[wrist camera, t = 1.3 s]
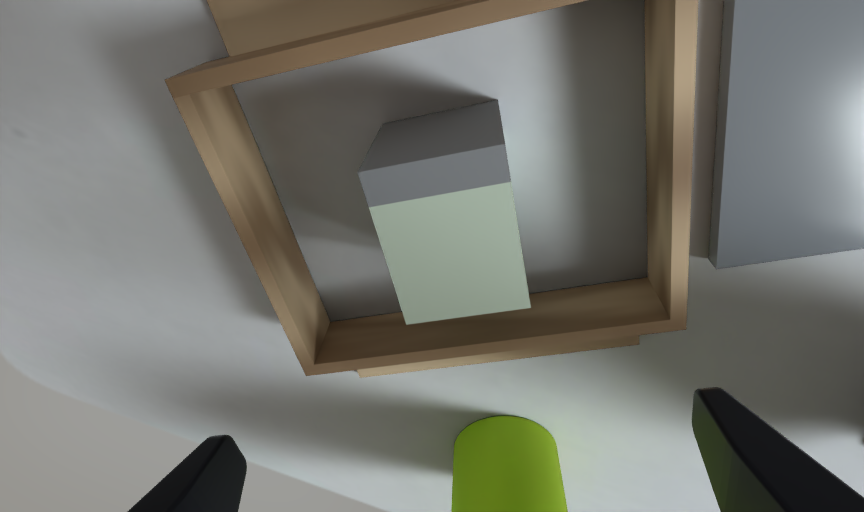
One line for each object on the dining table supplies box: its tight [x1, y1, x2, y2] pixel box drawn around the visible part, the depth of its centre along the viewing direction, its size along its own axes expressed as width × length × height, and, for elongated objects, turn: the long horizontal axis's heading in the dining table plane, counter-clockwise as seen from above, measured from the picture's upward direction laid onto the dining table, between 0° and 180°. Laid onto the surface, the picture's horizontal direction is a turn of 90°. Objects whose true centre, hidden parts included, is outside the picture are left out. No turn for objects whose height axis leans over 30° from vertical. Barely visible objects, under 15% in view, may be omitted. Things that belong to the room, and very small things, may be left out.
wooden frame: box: [165, 0, 698, 378], centre depth 19 cm, size 19×16×3 cm
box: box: [358, 100, 531, 325], centre depth 19 cm, size 6×4×5 cm
